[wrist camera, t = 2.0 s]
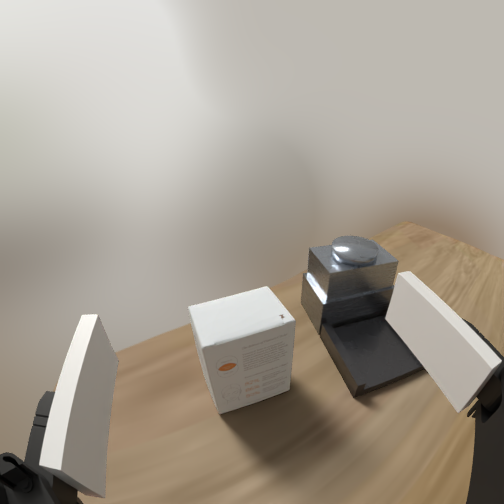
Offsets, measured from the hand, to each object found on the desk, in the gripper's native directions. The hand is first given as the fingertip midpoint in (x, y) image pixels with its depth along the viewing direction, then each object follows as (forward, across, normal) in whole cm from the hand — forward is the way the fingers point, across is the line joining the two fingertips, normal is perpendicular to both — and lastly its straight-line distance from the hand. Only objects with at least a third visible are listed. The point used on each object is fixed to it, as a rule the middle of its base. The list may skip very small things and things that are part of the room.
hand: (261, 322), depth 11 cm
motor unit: (+14, +17, -18) cm, 28 cm away
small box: (+10, 0, -18) cm, 21 cm away
